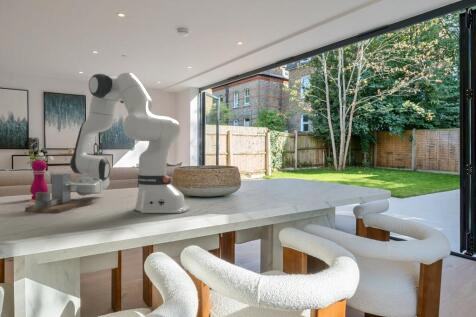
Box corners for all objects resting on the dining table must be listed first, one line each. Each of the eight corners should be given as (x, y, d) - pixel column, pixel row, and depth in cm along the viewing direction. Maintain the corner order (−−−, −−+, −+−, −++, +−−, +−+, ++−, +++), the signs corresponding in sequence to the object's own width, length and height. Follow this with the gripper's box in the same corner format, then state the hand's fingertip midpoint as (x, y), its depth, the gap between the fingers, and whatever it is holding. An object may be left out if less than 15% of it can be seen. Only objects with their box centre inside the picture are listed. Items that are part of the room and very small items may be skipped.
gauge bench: (91, 203, 147) (91, 186, 147) (58, 213, 126) (58, 193, 125) (62, 202, 149) (62, 185, 149) (25, 211, 128) (25, 192, 127)
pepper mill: (39, 201, 151) (39, 157, 150) (26, 200, 152) (26, 157, 152) (51, 198, 158) (51, 156, 157) (38, 197, 160) (38, 156, 159)
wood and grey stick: (52, 205, 130) (52, 199, 130) (49, 206, 129) (49, 200, 128) (31, 205, 131) (31, 199, 131) (28, 205, 130) (28, 199, 130)
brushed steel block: (70, 201, 140) (70, 173, 139) (54, 206, 130) (54, 175, 129) (59, 201, 140) (59, 173, 140) (42, 205, 131) (42, 175, 130)
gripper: (64, 178, 155) (43, 181, 141) (104, 179, 152) (87, 182, 138) (64, 191, 155) (43, 196, 142) (104, 193, 152) (87, 197, 139)
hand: (65, 189), depth 140 cm, fingers closed, pressing on brushed steel block
